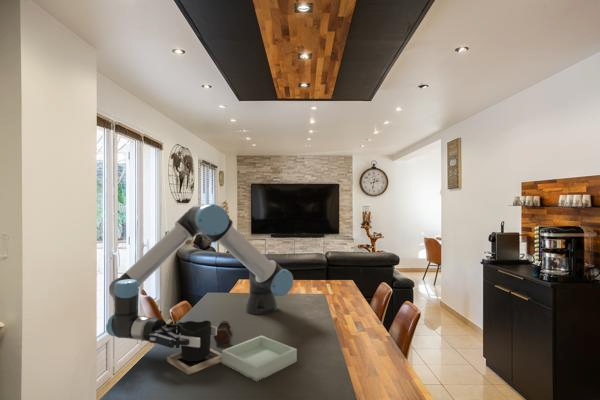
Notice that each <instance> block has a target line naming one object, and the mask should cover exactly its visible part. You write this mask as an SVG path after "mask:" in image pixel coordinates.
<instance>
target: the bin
mask: <svg viewBox="0 0 600 400" xmlns="http://www.w3.org/2000/svg"><path fill="white" fill-rule="evenodd" d="M297 352H298V349H297V348H295V347H293V346H290V345H287V344H285V343H282V342H280V341H277V340H274V339H272V338H270V337H266V336H264V335H259V336H255V337H254V338H250V339H248V340H245V341H243V342H240V343H238V344H234V345H233V346H231V347H227V348H225V349H222V350H221V362H220V363H221V365H225V366H226V367H228V368H230V369H231V368H232V370H233V369H234V370H233V371H235V370H236V372H237V371H238V373H239V372H240V374H241V375H242V376H244V377H247V378H248V379H250V378H251V380H252V381H255V382H259V380H260V381H261V379H262V380H264V379H266V378H267V377H269V376H271V375H273V374H275V373H277V372H279V371H281V370H283V369H285V368H287V367H289V366H290V365H292V364H295V363H296V362H297V361H298V359H297V357H298V353H297ZM263 378H264V379H263Z"/></svg>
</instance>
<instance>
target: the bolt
mask: <svg viewBox="0 0 600 400" xmlns="http://www.w3.org/2000/svg"><path fill="white" fill-rule="evenodd" d="M230 329H231V325H230V323H229V321H227V320H222V321H221V322H220V323H219V324H218V326H217V335H216V336H215V335H213V339H214V341H215V342H216V344H217V345H224V344H227V342H228V341H229V340H230V337H231V334H230V332H229V331H230Z"/></svg>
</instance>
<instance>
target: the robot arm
mask: <svg viewBox="0 0 600 400" xmlns="http://www.w3.org/2000/svg"><path fill="white" fill-rule="evenodd" d="M233 223H234V221H233V220H232V219H231V218H230V217H229V214H228V213H227V211H226V210H225V209H224V208H223V207H222V206H220V205H218V204H215V203H206V204H205V203H204V204H203V203H201V204H200V203H199V204H196V205H195V204H194V205H193V206H192V207H190V208H189V209H188V210H187V211H185V212H184V214H182V216H181V217H180V218H178V220H176V221H175V222H174V227H172V229H170V230H169V231H168V232H167V233H166V234H165V235H164V236H163V237H162V238H161V239H159V241H157V242H156V243H155V244H154V246H152V247H150V249H149V250H148V251H147V252H146V253H145V254H143V255H142V256H141V257H140V258H139V259H138V260H136V262H134V264H133V265H132V266H131V267H129V268H128V269H127V270H126V271H125V272H124V273H123V274H122V275H121V276H120V277H117V278H115V279H113V280H112V281H111V282H110V284H109V287H108V289H109V290H108V291H109V295H110V296H111V298H112V300H113V304H114V305H113V306H114V307H113V308H114V309H113V310H114V313H113V314H112V315H111V316H110V317H109V318H108V319H107V323H106V326H105V330H106V332H107V334H108V336H109V335H110V336H112V337H115V338H119V339H130V340H136V341H137V340H138V341H141V342H145V341H146V342H149V343H150V344H157V345H159V346H164V347H166V348H169V349H172V348H174V347H175V349H179V348H180V347H181V345H183V346H191V347H198V348H199V347H200V338H198V337H189V336H181V325H182V324H183V323H185V322H186V321H181V320H175V321H174V323H172V322H170V323H168V322H166V321H165V320H164V319H163V318H161V317H160V318H158V317H151V316H142V315H139V296H140V295H139V291H140V288H139V287H140V286H141V285H143V283H144V282H146V281H147V279H148V278H149V277H150V276H152V275H153V274H154V273H155V272H156V271H157V270H158V269H159V268H160V267H161V266H162V265H164V263H165V262H167V260H168V259H169V258H170V257H171V256H173V254H175V253H176V252H177V250H179V248H181V246H183V245H184V244H185V243H186V242H187V241H188V240H193V239H194V238H195V237H196V236H197V235H199V234H202V235H203V236H204V237H205V238H206V239H208V240H209V241H210V242H211V243H213V244H214V243H218V244H219V245H220V246H222V247H223V248H224V249H225V250H226V251H228V253H229V254H231V255H232V256H233V257H234V258H236V260H238V262H240V263H241V264H242V265H243V266H244V267H245V268H247V270H249V277H248V278H249V280H248V281H249V294H248V296H247V300H246V304H245V312H247V313H248V314H252V315H268V314H269V315H270V314H273V313H275V312H277V310H278V303H277V299H276V297H283V296H286V295H287V294H289V292H290V291H291V290H292V288H293V285H294V276H293V274H292V272H291V271H289V270H288V269H287V268H283V267H281V265H279V263H278V262H276V261H275V260H273V259H271V260H270V259H268V258H267V257H266V256H265V255H264V253H262V252H261V251H259V250H258V249H257V248H256V247H255V246H254V245H253V244H252V243H251V242H250V241H249V240H248V239H247V238H246V237H245V236H243V234H241V233H240V232H239V231H238V230H237V229H236V228H235V227H234V225H233ZM275 296H276V297H275ZM217 328H218V326H215V325H214V326H213V325H211V336H214V335H215V336H216V335H217V330H218V329H217ZM179 335H180V336H179Z"/></svg>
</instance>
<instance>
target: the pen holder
mask: <svg viewBox="0 0 600 400" xmlns="http://www.w3.org/2000/svg"><path fill="white" fill-rule="evenodd" d="M184 322H185V323H183V324H182V325H181V333H180V337H181V336H189V337H198V338H200V347H199V348H198V347H191V346H183V345H180V347H181V349H180V350H181V352H182V358H181V359H183V360H185V361H188V362H198V361H201V360H204V359H207V358H208V356H210V355H209V353H210V348H211V336H212V335H211V326H212V322H211V321H210V320H208V319H207V320H203V321H193V320H189V321H188V320H186V321H184Z"/></svg>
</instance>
